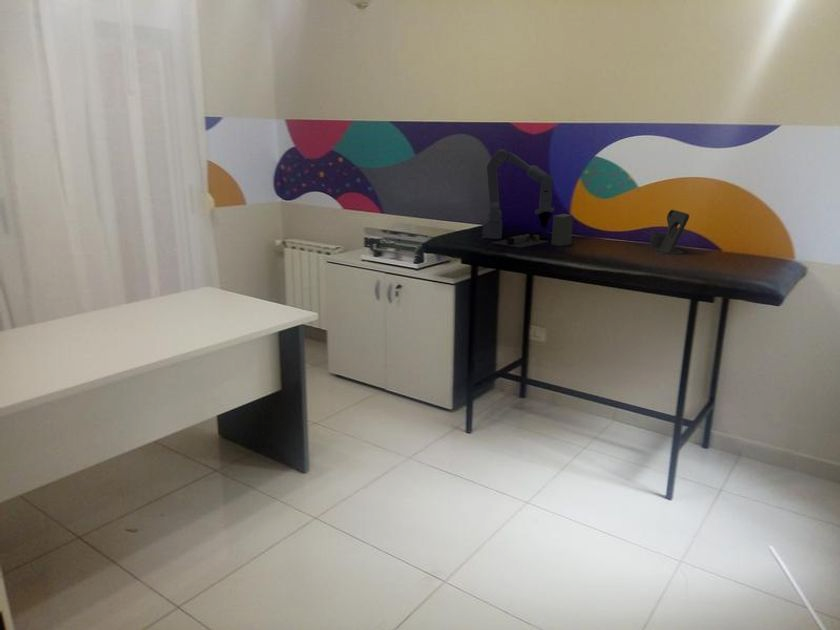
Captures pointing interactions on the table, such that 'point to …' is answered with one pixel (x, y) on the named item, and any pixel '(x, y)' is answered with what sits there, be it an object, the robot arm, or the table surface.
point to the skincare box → (562, 229)
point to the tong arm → (517, 239)
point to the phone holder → (670, 234)
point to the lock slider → (535, 237)
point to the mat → (522, 244)
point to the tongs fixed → (518, 236)
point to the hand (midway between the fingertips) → (543, 227)
